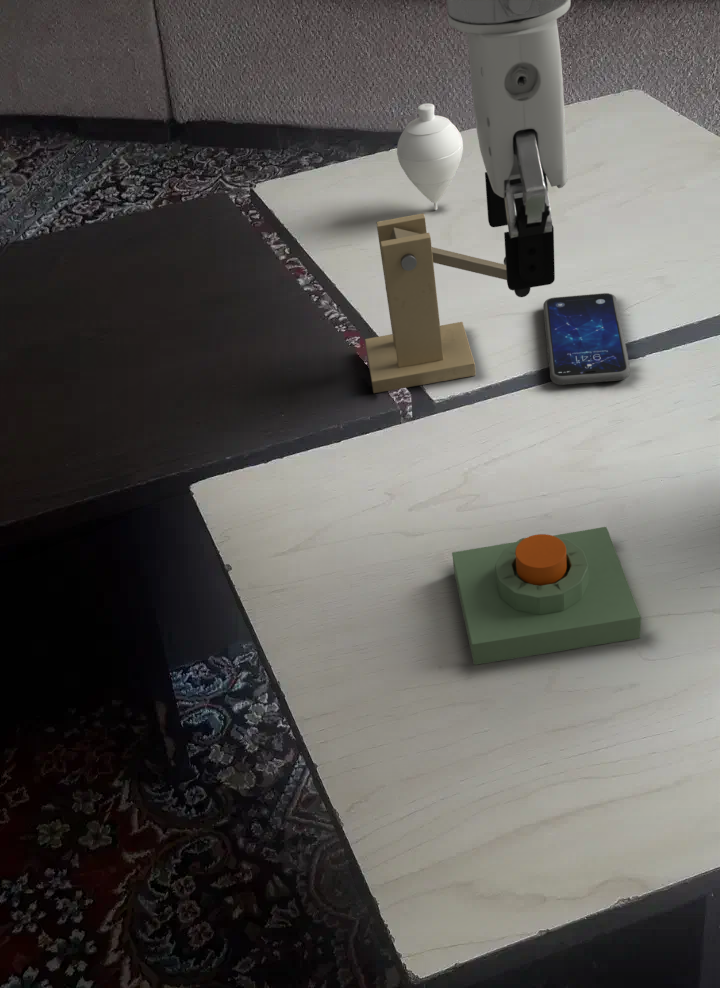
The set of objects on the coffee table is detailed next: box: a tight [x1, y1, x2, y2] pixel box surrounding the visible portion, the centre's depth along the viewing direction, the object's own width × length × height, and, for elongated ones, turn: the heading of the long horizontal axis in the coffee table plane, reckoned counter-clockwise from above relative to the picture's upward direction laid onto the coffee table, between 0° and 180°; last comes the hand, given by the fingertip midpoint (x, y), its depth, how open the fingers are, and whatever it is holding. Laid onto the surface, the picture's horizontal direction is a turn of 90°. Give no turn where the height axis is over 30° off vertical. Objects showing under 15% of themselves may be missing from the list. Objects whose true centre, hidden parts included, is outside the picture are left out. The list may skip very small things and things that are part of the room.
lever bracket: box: [364, 212, 477, 394], centre depth 100 cm, size 10×8×14 cm
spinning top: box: [396, 102, 464, 211], centre depth 124 cm, size 8×8×12 cm
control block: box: [451, 526, 642, 666], centre depth 78 cm, size 12×10×4 cm
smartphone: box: [542, 292, 631, 386], centre depth 103 cm, size 7×1×15 cm
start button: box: [515, 533, 567, 585], centre depth 77 cm, size 4×4×2 cm
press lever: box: [390, 228, 531, 298], centre depth 98 cm, size 13×6×2 cm, turn 95°
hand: (520, 252), depth 77 cm, fingers open, 9 cm apart
